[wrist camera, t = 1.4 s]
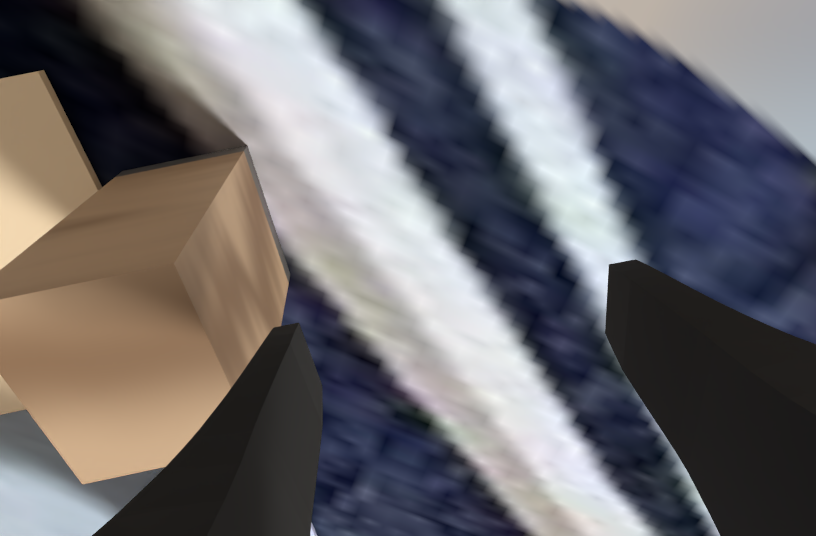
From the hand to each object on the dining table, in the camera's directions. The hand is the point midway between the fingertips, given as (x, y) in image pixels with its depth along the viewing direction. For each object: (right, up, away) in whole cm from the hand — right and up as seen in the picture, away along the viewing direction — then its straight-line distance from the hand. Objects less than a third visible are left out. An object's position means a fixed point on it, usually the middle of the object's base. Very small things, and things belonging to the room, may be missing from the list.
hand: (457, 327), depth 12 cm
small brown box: (-9, +3, +10) cm, 14 cm away
